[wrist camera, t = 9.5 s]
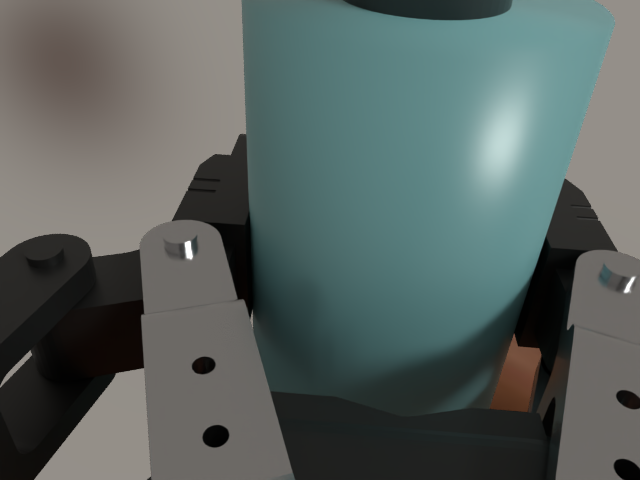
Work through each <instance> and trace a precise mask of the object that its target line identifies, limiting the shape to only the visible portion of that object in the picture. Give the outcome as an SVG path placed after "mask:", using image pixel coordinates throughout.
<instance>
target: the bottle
mask: <svg viewBox="0 0 640 480" xmlns="http://www.w3.org/2000/svg"><path fill="white" fill-rule="evenodd" d="M242 23H243V50H244V76H245V77H244V80H245V106H246V136H247V164H248V193H249V212H250V241H251V269H252V298H253V332H254V336H255V339H256V343H257V347H258V350H259V354H260V357H261V361H262V365H263V368H264V372H265V375H266V379H267V382H268V386H269V390H270V392H271V391H273V392H286V393H298V394H310V395H322V396H335V397H339V398H342V399H346V400H349V401H352V402H356V403H359V404H362V405H366V406H369V407H372V408H376V409H379V410H382V411H386V412H389V413H392V414H396V415H400V416H407V417H408V416H417V415H425V414H432V413H439V412H446V411H453V410H460V409H467V408H482V409H489V408H490V405H491V402H492V399H493V396H494V393H495V390H496V387H497V384H498V380H499V377H500V374H501V371H502V368H503V365H504V362H505V359H506V356H507V353H508V350H509V347H510V344H511V341H512V338H513V335H514V332H515V328H516V325H517V322H518V319H519V316H520V313H521V310H522V307H523V304H524V301H525V298H526V295H527V292H528V289H529V286H530V283H531V280H532V276H533V273H534V270H535V267H536V264H537V261H538V258H539V255H540V252H541V249H542V246H543V243H544V240H545V237H546V234H547V231H548V228H549V224H550V221H551V218H552V215H553V212H554V209H555V206H556V203H557V200H558V197H559V194H560V191H561V188H562V185H563V182H564V179H565V175H566V172H567V169H568V166H569V163H570V160H571V157H572V154H573V151H574V148H575V145H576V142H577V139H578V136H579V132H580V130H581V127H582V124H583V120H584V117H585V114H586V111H587V108H588V105H589V102H590V99H591V96H592V93H593V90H594V87H595V84H596V81H597V78H598V74H599V71H600V68H601V65H602V62H603V59H604V56H605V53H606V50H607V47H608V44H609V41H610V38H611V35H612V32H613V29H614V25H615V21H614V17H613V16H612V14H611V13H610V11H608V10H607V9H606V8H605V7H604V6H603V5H601V4H599V3H598V2H596V1H594V0H242Z"/></svg>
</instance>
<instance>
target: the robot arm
mask: <svg viewBox="0 0 640 480" xmlns="http://www.w3.org/2000/svg"><path fill="white" fill-rule="evenodd" d="M252 310H253V298H252V269H251V241H250V212H249V193H248V164H247V136H246V134H240V135H239V137H238V139H237V142H236V144H235V147H234V149H233V151H232V154H231V155H220V154H215V155H213V156H212V157H210V158H209V159H207V160H206V161H205V162H203V163H202V164H201V165H200V166H199V168H198V170H197V172H196V174H195V176H194V178H193V180H192V182H191V184H190V186H189V188H188V191H187V192H186V194H185V196H184V198H183V200H182V202H181V204H180V206H179V208H178V210H177V212H176V214H175V216H174V218H173V220H172V221H171V222H167V223H163V224H161V225H158V226H156V227H154V228H153V229H151V230H150V231H149V232H147V233H146V234H145V235H144V236H143V238H142V239H141V242H140V249H139V250H136V251H132V252H128V253H122V254H114V255H106V256H98V257H92V254H91V250H90V247H89V245H88V243H87V242H86V241H84V240H83V239H81V238H79V237H77V236H73V235H68V234H50V235H43V236H39V237H35V238H32V239H29V240H26V241H24V242H22V243H20V244H18V245H16V246H15V247H13V248H12V249H11V250H9V251H8V252H7V253H5V254H4V255H3V256H2V257H0V385H1V383H2V381H3V379H4V377H5V376H6V374H7V373H8V372H9V371H10V370H11V369H12V368H13V367H14V366H15V365H16V364H17V363H18V362H19V361H20V360H21V359H22V358H23V357H24V356H25V355H26V354H27V353H28V352H29V351H30V350H31V353H32V356H31V357H30V358H29V359H28V360H27V361H26V362H25V363H24V364H23V365H22V366H21V367H20V368H19V369H18V370H17V371H16V373H14V374H13V376H12V377H10V378H9V380H8V381H7V382H5V383H4V385H3V386H2V387H1V388H0V480H34V479H35V478H36V476H37V475H38V474H39V473H40V471H41V470H42V469H43V468H44V466H45V465H46V464H47V462H48V461H49V460H50V458H51V457H52V456H53V455H54V454H55V452H56V451H57V450H58V449H59V447H60V446H61V445H62V443H63V442H64V441H65V440H66V438H67V437H68V436H69V435H70V433H71V432H72V431H73V430H74V428H75V427H76V426H77V425H78V423H79V422H80V421H81V419H82V418H83V417H84V416H85V414H86V413H87V412H88V411H89V409H90V408H91V407H92V406H93V404H94V403H95V402H96V400H97V399H98V398H99V397H100V395H101V394H102V393H103V392H104V390H105V389H106V388H107V387H108V385H109V384H110V383H111V381H112V380H113V378H114V377H115V374H116V373H119V372H124V371H130V370H136V369H141V368H144V370H145V386H146V402H147V417H148V434H149V449H150V464H151V477H150V478H149V479H147V480H640V260H639V259H636V258H634V257H632V256H629V255H627V254H623V253H620V252H618V251H617V249H616V248H615V246H614V244H613V242H612V241H611V239H610V237H609V236H608V234H607V232H606V231H605V229H604V227H603V226H602V224H601V222H600V221H598V217H597V215H596V213H595V212H594V210H593V209H591V205H590V203H589V202H588V200H587V198H586V196H585V195H584V193H583V192H582V191H581V190H580V189H578V188H577V187H576V186H574V185H573V184H572V183H570V182H569V181H568V180H566V179H564V182H563V185H562V188H561V191H560V194H559V197H558V200H557V203H556V206H555V209H554V212H553V215H552V218H551V221H550V224H549V228H548V231H547V234H546V237H545V240H544V243H543V246H542V249H541V252H540V255H539V258H538V261H537V264H536V267H535V270H534V273H533V276H532V280H531V283H530V286H529V289H528V292H527V295H526V298H525V301H524V304H523V307H522V310H521V313H520V316H519V319H518V322H517V325H516V328H515V332H514V334H515V337H516V341H517V344H518V346H520V347H532V348H540V351H541V354H542V355H541V358H540V360H539V363H538V366H537V368H536V371H535V376H534V381H533V386H532V392H531V397H530V402H529V408H528V412H519V411H506V410H494V409H482V408H467V409H460V410H453V411H446V412H439V413H432V414H425V415H417V416H408V417H407V416H400V415H396V414H392V413H389V412H386V411H382V410H379V409H376V408H372V407H369V406H366V405H362V404H359V403H356V402H352V401H349V400H346V399H342V398H339V397H335V396H322V395H310V394H298V393H286V392H273V391H271V392H270V390H269V386H268V382H267V379H266V375H265V372H264V368H263V365H262V361H261V357H260V354H259V350H258V347H257V343H256V339H255V336H254V332H253V329H252V325H251V322H250V318H251V314H252Z"/></svg>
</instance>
